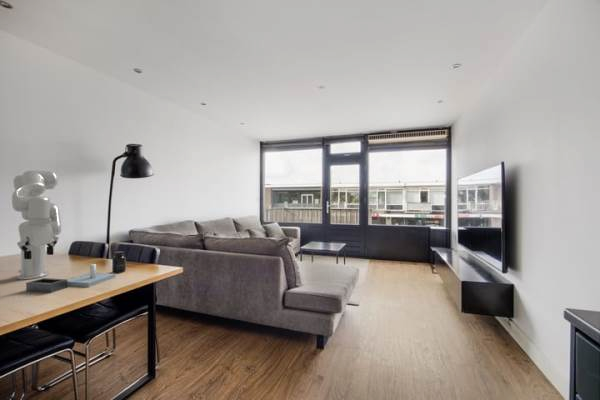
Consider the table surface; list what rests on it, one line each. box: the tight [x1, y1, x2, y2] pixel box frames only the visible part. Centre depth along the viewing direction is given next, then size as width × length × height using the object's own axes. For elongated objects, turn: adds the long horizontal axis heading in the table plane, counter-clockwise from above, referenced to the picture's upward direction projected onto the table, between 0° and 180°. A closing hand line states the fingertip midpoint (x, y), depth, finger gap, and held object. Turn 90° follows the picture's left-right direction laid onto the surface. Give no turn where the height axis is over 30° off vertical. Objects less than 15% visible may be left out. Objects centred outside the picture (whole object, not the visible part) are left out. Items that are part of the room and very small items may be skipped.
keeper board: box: [67, 263, 117, 288], centre depth 142 cm, size 16×16×9 cm
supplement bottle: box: [111, 251, 127, 274], centre depth 160 cm, size 7×7×12 cm
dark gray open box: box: [25, 277, 68, 294], centre depth 130 cm, size 14×8×4 cm, turn 81°
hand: (39, 256), depth 130 cm, fingers open, 9 cm apart
